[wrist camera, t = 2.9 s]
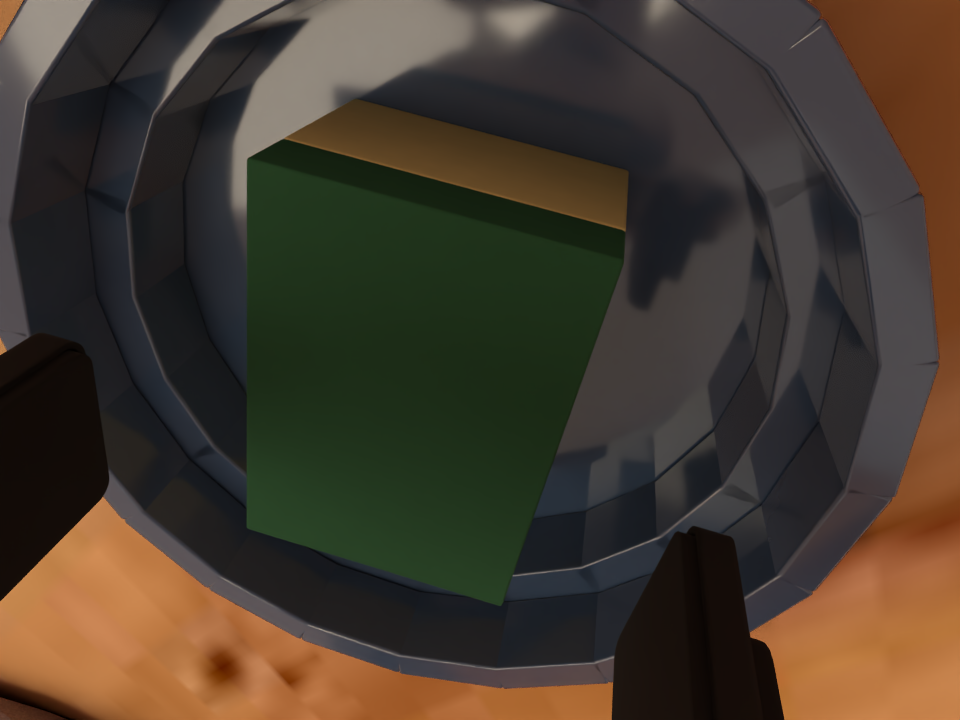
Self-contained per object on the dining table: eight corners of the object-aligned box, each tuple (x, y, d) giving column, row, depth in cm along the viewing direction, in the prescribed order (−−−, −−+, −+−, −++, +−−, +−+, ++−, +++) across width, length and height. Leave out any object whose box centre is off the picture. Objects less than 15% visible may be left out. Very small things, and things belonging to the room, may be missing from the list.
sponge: (354, 97, 13) (245, 157, 10) (629, 170, 13) (625, 260, 9) (327, 407, 18) (245, 529, 14) (530, 467, 17) (501, 608, 14)
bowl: (273, -394, 10) (58, -592, 6) (1057, 219, 12) (1237, 339, 9) (75, 345, 19) (-62, 443, 15) (549, 622, 21) (529, 766, 18)
